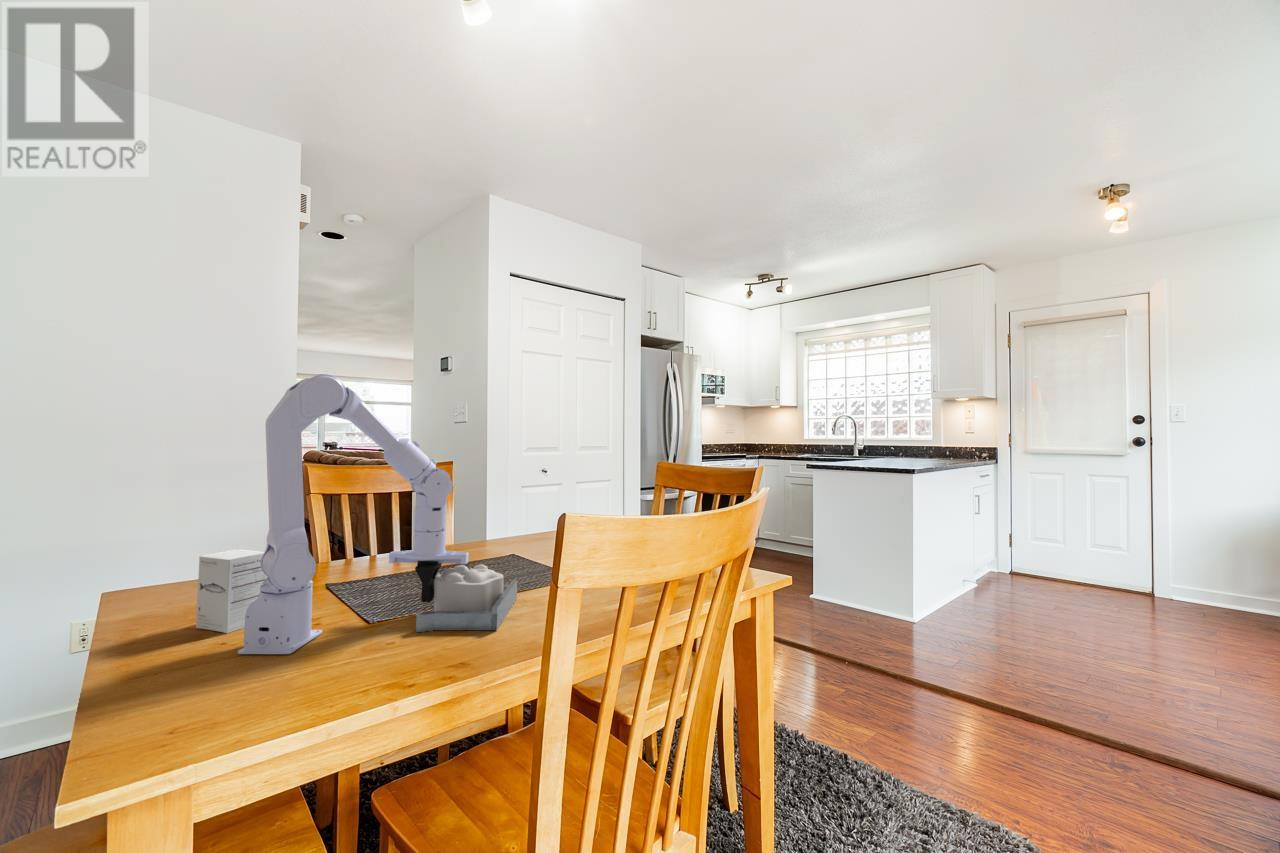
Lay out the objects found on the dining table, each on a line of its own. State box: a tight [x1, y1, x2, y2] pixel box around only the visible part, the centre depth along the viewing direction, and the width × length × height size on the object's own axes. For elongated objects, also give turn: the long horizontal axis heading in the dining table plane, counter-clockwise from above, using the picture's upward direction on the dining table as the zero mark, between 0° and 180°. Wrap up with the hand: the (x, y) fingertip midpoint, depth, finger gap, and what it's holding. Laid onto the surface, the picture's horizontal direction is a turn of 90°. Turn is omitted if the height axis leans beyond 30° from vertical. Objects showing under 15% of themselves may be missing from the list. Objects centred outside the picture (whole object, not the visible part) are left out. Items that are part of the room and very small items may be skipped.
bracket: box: [415, 579, 518, 634], centre depth 104 cm, size 21×14×4 cm, turn 2°
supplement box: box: [195, 548, 268, 634], centre depth 95 cm, size 7×7×13 cm
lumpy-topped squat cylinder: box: [433, 564, 505, 612], centre depth 104 cm, size 10×13×9 cm
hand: (427, 600), depth 104 cm, fingers closed
